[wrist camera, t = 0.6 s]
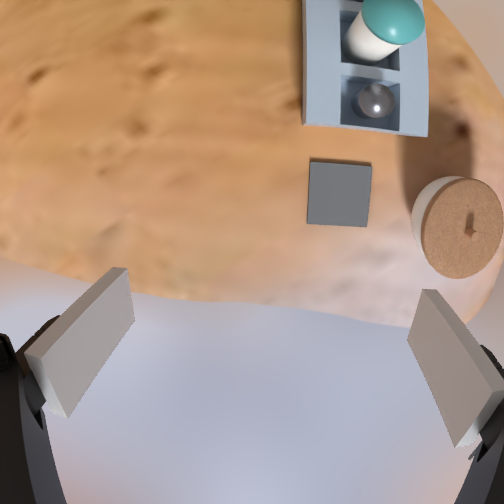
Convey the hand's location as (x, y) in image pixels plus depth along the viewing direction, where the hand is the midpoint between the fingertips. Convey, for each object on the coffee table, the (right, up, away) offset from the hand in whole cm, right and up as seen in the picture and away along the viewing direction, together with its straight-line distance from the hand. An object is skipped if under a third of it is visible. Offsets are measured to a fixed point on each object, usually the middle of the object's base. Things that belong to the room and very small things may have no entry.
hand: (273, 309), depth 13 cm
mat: (+9, +9, +21) cm, 25 cm away
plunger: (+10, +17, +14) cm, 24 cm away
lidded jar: (+22, +7, +21) cm, 31 cm away
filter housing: (+10, +24, +15) cm, 30 cm away
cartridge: (+10, +23, +13) cm, 28 cm away
